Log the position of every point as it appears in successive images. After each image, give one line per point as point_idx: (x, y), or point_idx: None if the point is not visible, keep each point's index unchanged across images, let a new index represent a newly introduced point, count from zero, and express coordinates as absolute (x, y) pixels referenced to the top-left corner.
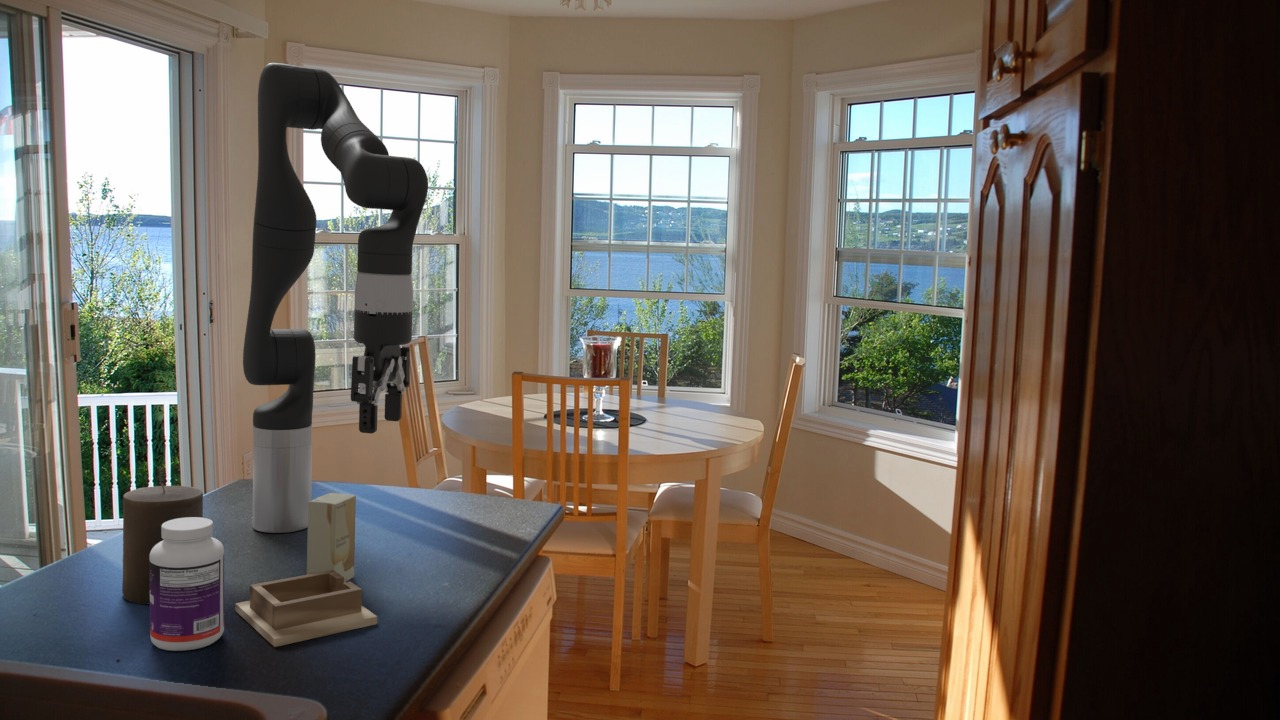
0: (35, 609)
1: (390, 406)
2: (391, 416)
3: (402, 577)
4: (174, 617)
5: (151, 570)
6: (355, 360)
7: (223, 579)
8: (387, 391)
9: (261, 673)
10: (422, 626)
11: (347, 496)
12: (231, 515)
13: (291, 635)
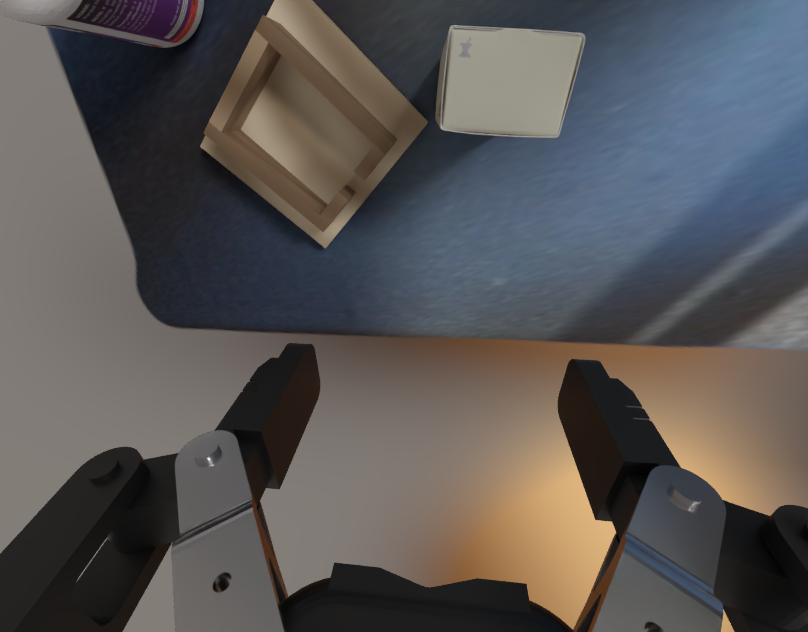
0: None
1: (587, 425)
2: (571, 392)
3: (519, 210)
4: None
5: None
6: None
7: (112, 28)
8: (644, 484)
9: (142, 170)
10: (341, 297)
11: (535, 121)
12: None
13: (221, 163)
